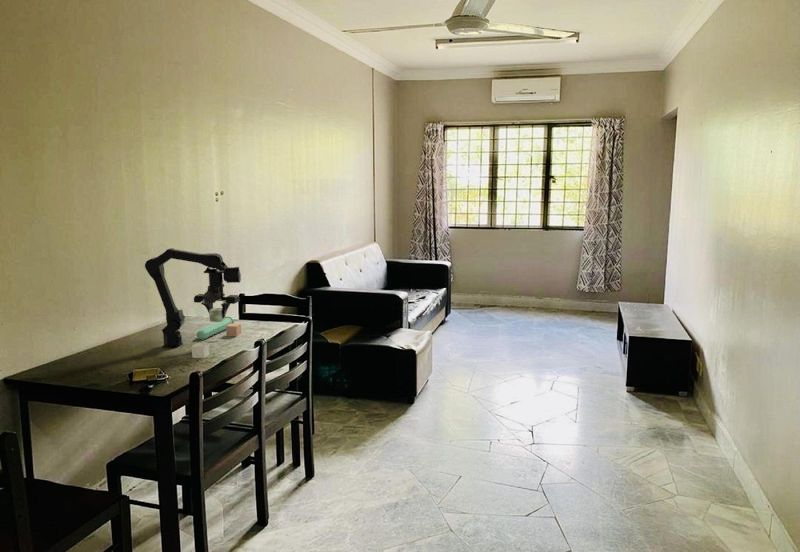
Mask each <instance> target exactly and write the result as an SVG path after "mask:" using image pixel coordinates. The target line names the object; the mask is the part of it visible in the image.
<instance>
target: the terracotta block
mask: <svg viewBox="0 0 800 552" xmlns="http://www.w3.org/2000/svg"><path fill="white" fill-rule="evenodd" d="M225 330H226V335H225V336H226V337H230V336H237V337H239V336H240V335H242V325H241V323H234V324H232V323H230V324H229V325H227V326H226V329H225ZM239 334H240V335H239ZM238 335H239V336H238Z"/></svg>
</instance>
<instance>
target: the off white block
mask: <svg viewBox="0 0 800 552" xmlns="http://www.w3.org/2000/svg"><path fill="white" fill-rule="evenodd" d="M191 354H192V358H194V359H205V358H206V357H208V356H209V355H210V343H209V342H196V343H194V344H193V345H191Z"/></svg>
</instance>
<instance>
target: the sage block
mask: <svg viewBox="0 0 800 552" xmlns="http://www.w3.org/2000/svg"><path fill="white" fill-rule="evenodd" d="M208 315H209V322H211V323H212V322H213V323H216V322H222V321H223V320H225V319H226V317H227V316H226V315H225V318H222V307H213V309H211V310H209V312H208Z"/></svg>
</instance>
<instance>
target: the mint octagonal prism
mask: <svg viewBox="0 0 800 552" xmlns="http://www.w3.org/2000/svg"><path fill="white" fill-rule="evenodd" d="M230 323H232V324H235V319H234V318H233V317H232V316H230V315H229V316H226V319H225V320H223V321H222V322H213V323H211V324H209V325H206V327H205V326H204V327H203V328H200V329H199V330H198V331H197V332H196V337H197V338H198V340H200V341H201V340H203V339H204V340H206V339H208V337H209V338H210V336H211V337H212V335H213V336H214V334H215V335H217V334H219V333H221V332H223V331H225V330H226V326H227V325H229V324H230Z"/></svg>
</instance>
